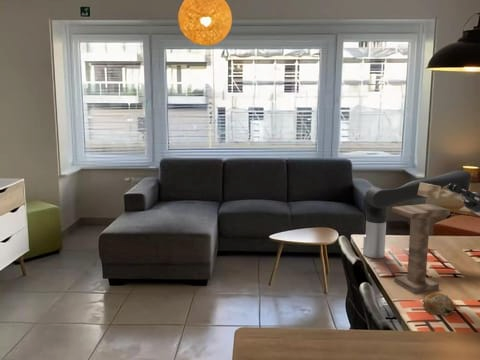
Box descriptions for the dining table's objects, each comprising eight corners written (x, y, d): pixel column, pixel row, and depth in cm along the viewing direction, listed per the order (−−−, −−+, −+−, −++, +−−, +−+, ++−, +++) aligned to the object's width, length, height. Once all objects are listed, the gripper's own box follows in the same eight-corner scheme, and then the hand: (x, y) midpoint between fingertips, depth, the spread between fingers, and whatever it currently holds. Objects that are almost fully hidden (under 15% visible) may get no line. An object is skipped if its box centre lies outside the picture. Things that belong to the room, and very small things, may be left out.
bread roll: (434, 325, 165) (444, 310, 161) (414, 304, 173) (423, 288, 169) (453, 319, 170) (463, 304, 166) (433, 298, 177) (442, 283, 173)
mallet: (425, 197, 183) (428, 184, 182) (417, 194, 187) (420, 182, 187) (472, 205, 191) (475, 193, 191) (463, 202, 196) (466, 190, 195)
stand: (407, 293, 183) (411, 213, 178) (388, 282, 194) (392, 206, 189) (444, 287, 189) (450, 210, 183) (424, 277, 200) (429, 203, 195)
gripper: (469, 193, 202) (442, 175, 196) (496, 200, 189) (468, 181, 183) (461, 208, 202) (434, 191, 196) (488, 216, 189) (459, 198, 183)
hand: (451, 186), depth 189 cm, fingers closed on mallet, 2 cm apart
